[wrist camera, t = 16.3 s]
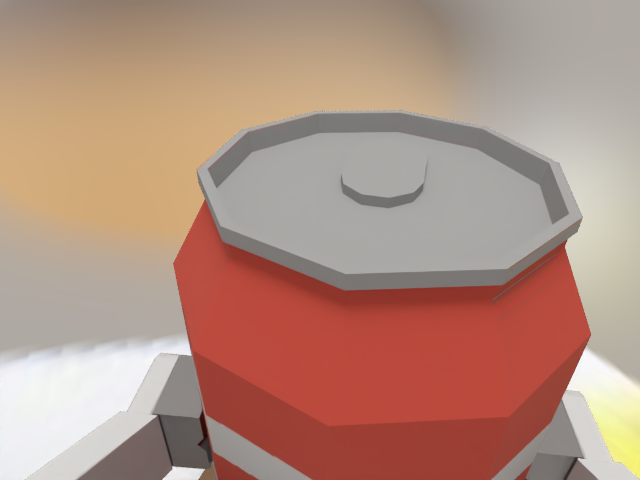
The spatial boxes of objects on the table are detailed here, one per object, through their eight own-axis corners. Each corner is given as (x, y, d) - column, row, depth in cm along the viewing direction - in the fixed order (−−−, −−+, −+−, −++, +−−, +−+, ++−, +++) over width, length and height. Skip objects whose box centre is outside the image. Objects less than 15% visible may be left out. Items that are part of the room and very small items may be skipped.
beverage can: (456, 475, 15) (568, 115, 9) (454, 754, 10) (731, 383, 3) (280, 433, 16) (259, 89, 10) (196, 663, 11) (37, 259, 5)
